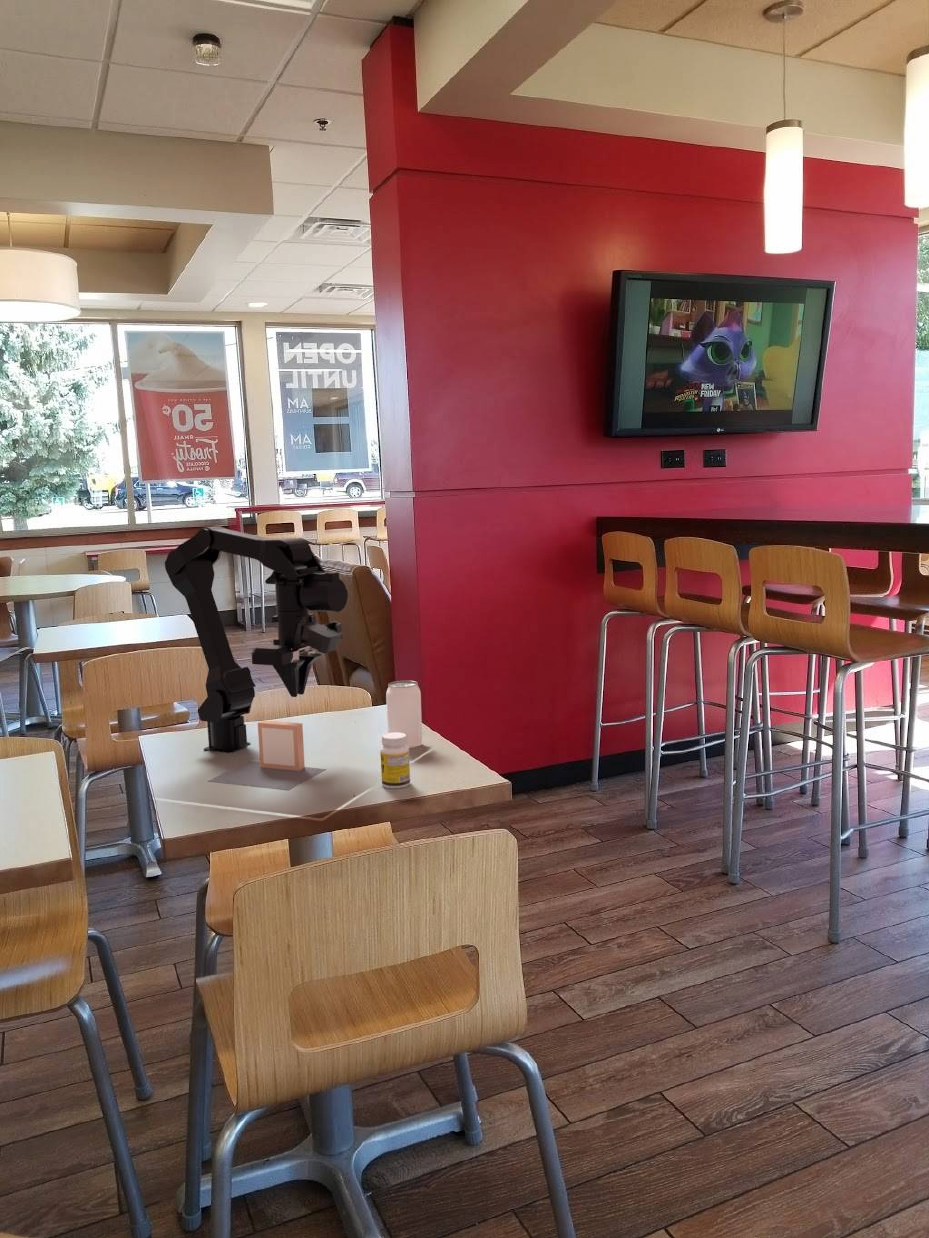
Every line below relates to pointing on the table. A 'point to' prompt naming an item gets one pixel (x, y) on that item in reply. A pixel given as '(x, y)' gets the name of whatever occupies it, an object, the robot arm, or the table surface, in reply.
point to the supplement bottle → (395, 761)
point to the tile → (281, 745)
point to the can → (405, 711)
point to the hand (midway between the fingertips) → (297, 695)
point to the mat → (266, 776)
